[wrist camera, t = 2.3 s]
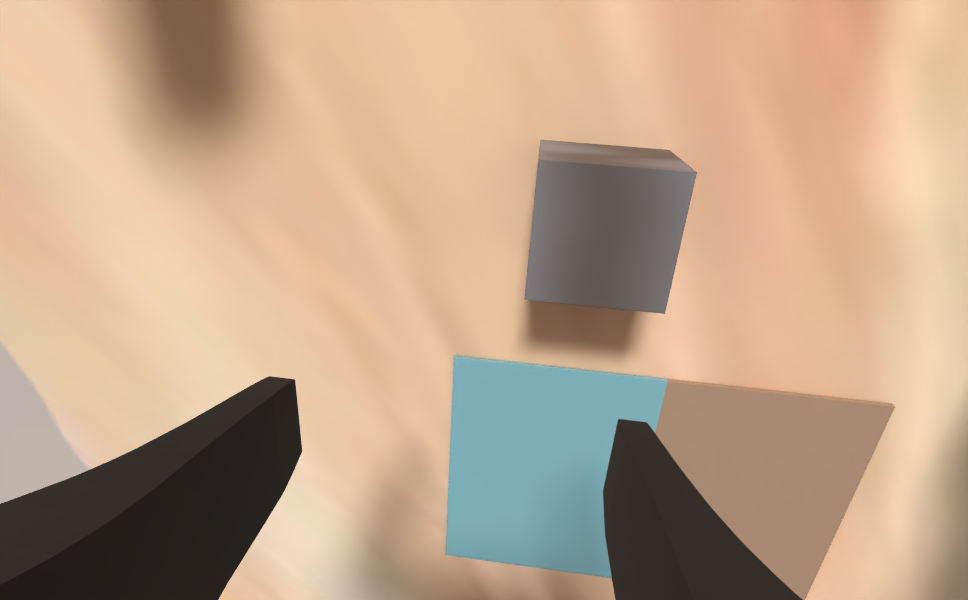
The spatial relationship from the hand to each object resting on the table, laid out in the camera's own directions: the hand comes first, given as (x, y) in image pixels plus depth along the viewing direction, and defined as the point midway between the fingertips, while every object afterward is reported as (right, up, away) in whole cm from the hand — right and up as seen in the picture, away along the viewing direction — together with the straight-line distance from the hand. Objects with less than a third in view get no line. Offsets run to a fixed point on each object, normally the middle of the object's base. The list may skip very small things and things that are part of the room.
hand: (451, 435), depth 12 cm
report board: (+8, -6, +13) cm, 16 cm away
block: (+5, +7, +8) cm, 11 cm away
